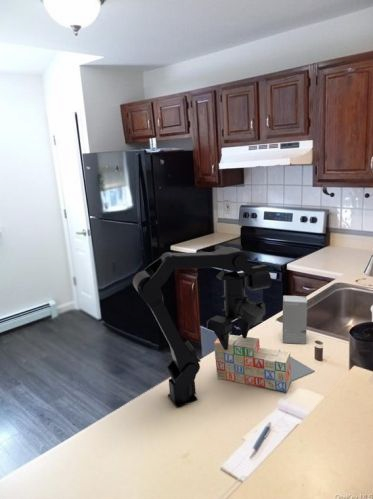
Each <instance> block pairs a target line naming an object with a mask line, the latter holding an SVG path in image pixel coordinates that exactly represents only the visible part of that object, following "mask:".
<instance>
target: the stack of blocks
mask: <svg viewBox="0 0 373 499" xmlns="http://www.w3.org/2000/svg"><path fill="white" fill-rule="evenodd" d="M213 345H214V356H215V357H214V359H215V366H216V377H217V378H218V379H220V380H225V381H229V382H233V383H234V382H236V383H239V384H243V385H244V384H245V385H251V386H256V387H259V388H260V387H261V388H266V389H270V390H273V391H274V390H275V391H280V392H285V393H286V392H287V391H288V388H289V387H290V385H291V365H290V357H291V352H290V351H285V350H280V349H272V348H266V347H264V348H263V347H260V338H259V337H258V338H257V337H249V336H247V337H246V338H243V337H242V335H234V334H231V333H230V334H229V343H228V350H224V348H223V347H222V345H221V343H220V341H219V339H218V337H216V340H215V341H213ZM279 350H280V351H279Z"/></svg>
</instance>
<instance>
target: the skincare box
mask: <svg viewBox="0 0 373 499" xmlns="http://www.w3.org/2000/svg"><path fill="white" fill-rule="evenodd" d="M307 318H308V298H307V296H300V295H299V296H297V295H283V296H282V342H283V344H301V345H302V344H303V345H306V344H307V326H308V325H307V321H308V319H307Z"/></svg>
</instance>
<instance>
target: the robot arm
mask: <svg viewBox="0 0 373 499" xmlns="http://www.w3.org/2000/svg"><path fill="white" fill-rule="evenodd" d="M248 260H249V258H248V256H247V254H246V252H244V251H241V250H240V249H237V248H234V247H232V246H229V247H223V248H219V249H217V250H214V251H209V252H208V251H206V252H205V251H204V252H170V251H168V252H167V251H166V252H164V253H162V254H161V256H159V257H158V258H157V259H156V260H154V261H152V263H150V264H148V266H146V267H145V268H144V269H143V270H141V271H139V272H137V273H136V274H135V275H134V277H133V279H132V285H133V287H134V288H135V290H136V291H137V293H138V295H139V296H140V297H141V298H142V300H143V301H144V303H146V306H148V307H149V308H150V310H151V312H152V314H153V316H154V317H155V320H156V322H157V323H158V325H159V327H160V330H161V332H162V333H163V336H164V337H165V339H166V341H167V343H168V345H169V347H170V348H169V349H170V354H171V356H172V359H171V361H170V362H169V363H168V365H167V366H166V368H165V370H167V372H168V374H169V376H170V378H169V379H168V387H169V388H168V389H169V393H168V394H167V397H168V399H169V400H170V401H171V402H172V404H174V406H175V407H176V408H181V407H183V406H186V405H188V404H191V403H194V402H196V401H198V397H197V396H196V394H197V393H196V391H197V390H196V382H195V381H196V378H197V375H198V373H199V371H200V369H201V365H200V363H201V362H202V360H201V359H200V358H199V356H198V355H197V351H196V349H195V348H194V347H193V344H192V343H190V341H189V340H187V341H186V342H184V340H183V338H182V336H181V334H180V333H179V331H178V329H177V327H176V324H175V322H174V321H173V319H172V317H171V314H170V313H169V310H168V309H167V307H166V305H165V302H164V296H163V295H164V294H163V291H162V287H163V286H164V285H165V284H166V283H167V281H168V280H169V278H170V276H171V275H172V273H173V272H174V271H175V270H183V269H184V270H187V269H220V270H221V271H220V272H219V273H218V274H216V278H217V279H219V280H221V281H223V288H224V290H223V292H224V294H223V295H222V296H220V297H221V300H222V301H224V308H223V309H221V314H224V315H225V316H222V315H220V316H219V315H215V316H213V317H210V318H209V319H208V320H207V321H206V329H207V330H210V331H211V332H213V333H214V334H215V335H216V338H218V339H219V341H220V343H221V345H222V347H223V348H224V350H228V343H229V334H230V335H231V333H232V332H234V331H233V322H235V321H236V320H237V322H238V324H239V330H240V332H241V334H240V335H241V336H242V337H243V338H246V337H248V334H249V330H250V327H251V326H256V325H257V324H258V323H261V322H262V319H263V316H265V315H266V311H267V310H266V303H264V302H263V301H262V300H260V301H259V302H257V303H256V302H252V301H250V298H249V295H246V289H245V288H247V289H248V291H251V292H252V291H256V290H257V291H258V290H263V289H269V288H270V287H271V286H272V283H273V282H272V281H273V280H272V279H273V278H272V276H271V273H270V271H269V269H268V265H266V264H259V265H254V266H252V265H251V264H250V262H249V261H248Z"/></svg>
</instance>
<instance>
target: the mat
mask: <svg viewBox="0 0 373 499" xmlns="http://www.w3.org/2000/svg"><path fill="white" fill-rule="evenodd" d="M278 350H279V351H281V350H280V349H278ZM290 365H291V382H294V381H297V380H298V379H302V378H304V377H306V376H309V375H311V374H313V373H315V370H314V369H312V368H311V367H309V366H308V365H305V364H303V363H302V362H300V361H299V360H297V359H295V358H294V357H292V356H290ZM291 382H290V383H291Z"/></svg>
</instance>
